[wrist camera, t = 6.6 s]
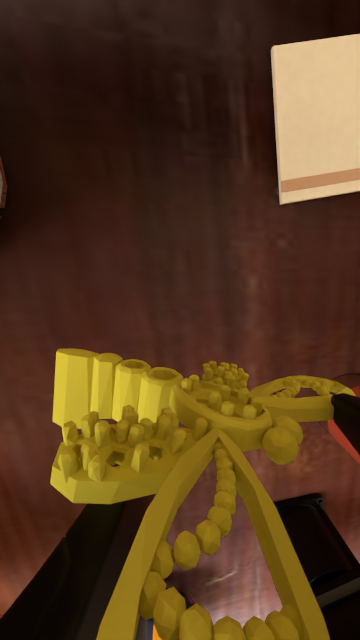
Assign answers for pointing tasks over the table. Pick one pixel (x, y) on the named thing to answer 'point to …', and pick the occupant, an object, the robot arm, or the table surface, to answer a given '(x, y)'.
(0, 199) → the mug
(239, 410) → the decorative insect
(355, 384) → the can
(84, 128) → the table surface
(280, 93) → the napkin
